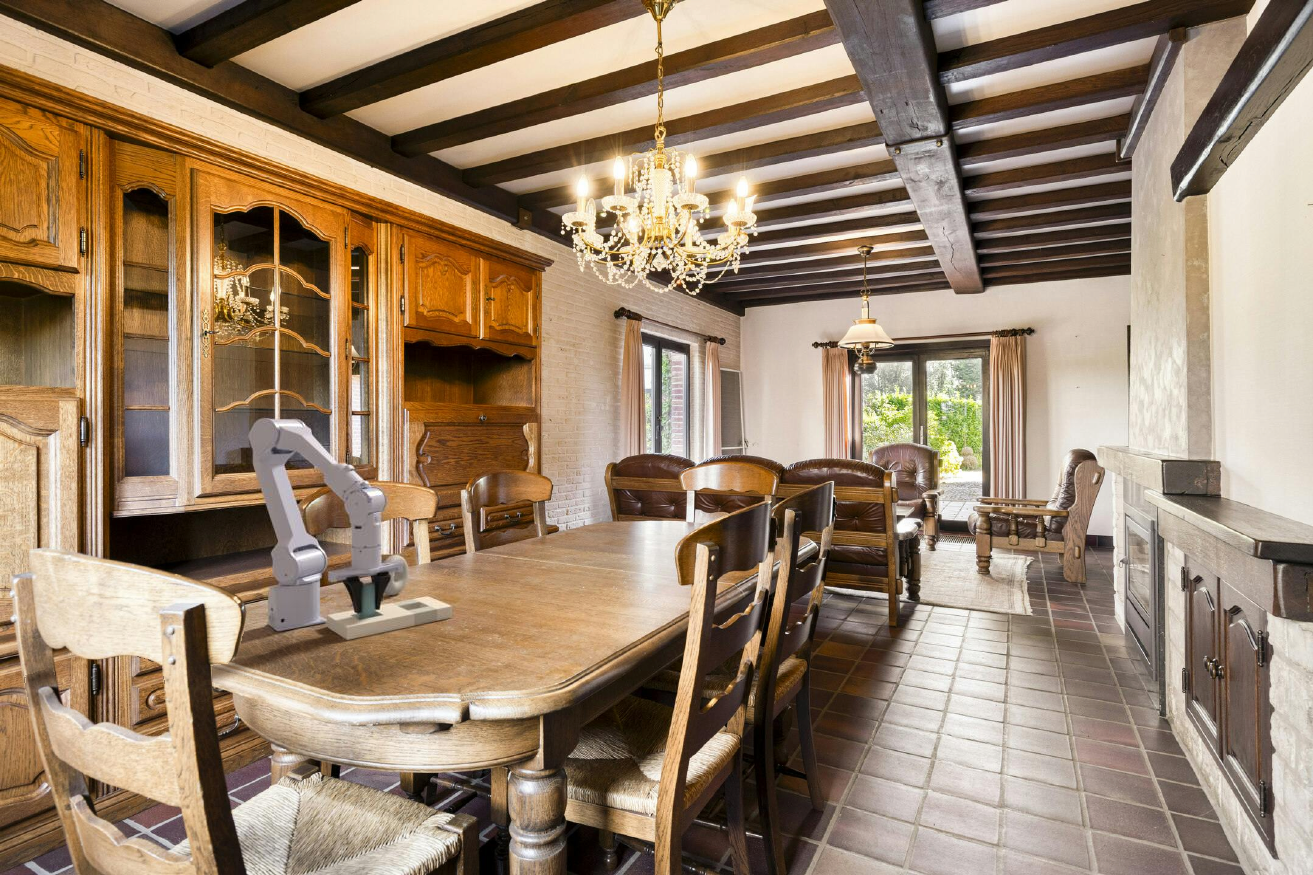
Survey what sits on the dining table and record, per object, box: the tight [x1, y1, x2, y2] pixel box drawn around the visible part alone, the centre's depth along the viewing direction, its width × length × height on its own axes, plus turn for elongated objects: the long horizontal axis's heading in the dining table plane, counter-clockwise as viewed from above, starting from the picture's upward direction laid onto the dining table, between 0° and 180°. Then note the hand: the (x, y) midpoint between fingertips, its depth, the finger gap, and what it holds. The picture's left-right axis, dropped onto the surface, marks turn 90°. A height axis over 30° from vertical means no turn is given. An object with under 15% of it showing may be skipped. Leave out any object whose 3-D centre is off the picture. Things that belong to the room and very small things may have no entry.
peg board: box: [326, 596, 453, 641], centre depth 140 cm, size 22×12×2 cm, turn 134°
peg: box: [359, 581, 375, 620], centre depth 137 cm, size 3×3×9 cm
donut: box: [383, 554, 409, 596], centre depth 164 cm, size 10×4×10 cm, turn 170°
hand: (367, 610), depth 137 cm, fingers closed on peg, 3 cm apart
